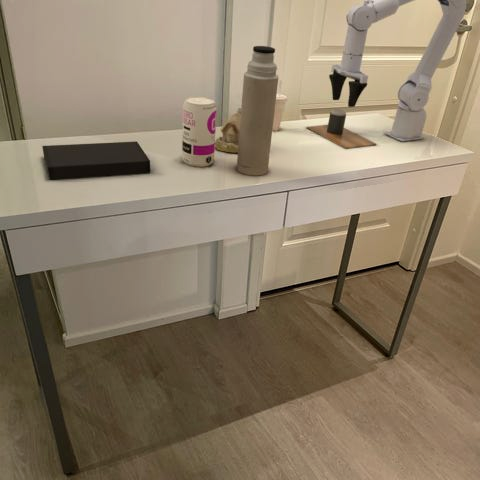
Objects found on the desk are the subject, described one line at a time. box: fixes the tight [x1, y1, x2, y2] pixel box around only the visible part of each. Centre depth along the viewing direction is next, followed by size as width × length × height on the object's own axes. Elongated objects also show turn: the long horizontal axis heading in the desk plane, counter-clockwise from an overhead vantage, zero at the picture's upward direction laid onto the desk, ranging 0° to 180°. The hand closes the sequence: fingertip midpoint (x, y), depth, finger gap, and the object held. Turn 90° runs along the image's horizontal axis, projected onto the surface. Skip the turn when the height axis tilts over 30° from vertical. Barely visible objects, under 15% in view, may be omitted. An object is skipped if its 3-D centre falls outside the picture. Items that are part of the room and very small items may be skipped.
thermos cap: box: [327, 109, 347, 135], centre depth 157 cm, size 5×5×6 cm
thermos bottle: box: [236, 45, 279, 176], centre depth 120 cm, size 8×8×28 cm
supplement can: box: [181, 96, 218, 168], centre depth 125 cm, size 8×8×15 cm
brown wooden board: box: [306, 124, 377, 150], centre depth 157 cm, size 12×20×1 cm, turn 29°
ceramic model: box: [215, 107, 241, 153], centre depth 139 cm, size 14×11×10 cm
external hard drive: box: [41, 140, 151, 180], centre depth 121 cm, size 14×23×3 cm, turn 112°
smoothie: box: [272, 80, 288, 132], centre depth 153 cm, size 6×6×14 cm
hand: (343, 103), depth 153 cm, fingers open, 7 cm apart
